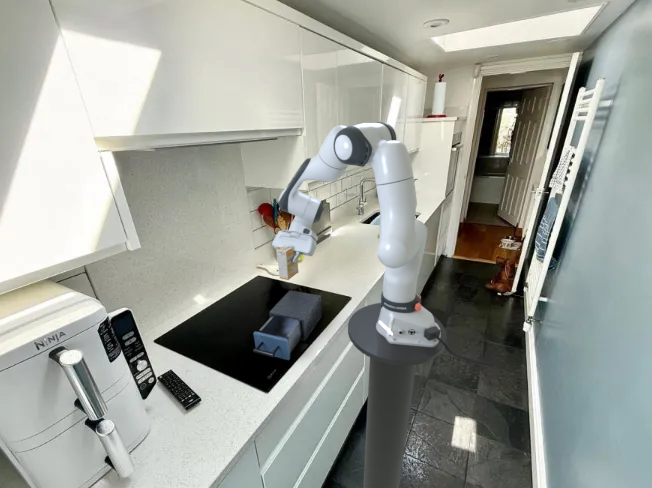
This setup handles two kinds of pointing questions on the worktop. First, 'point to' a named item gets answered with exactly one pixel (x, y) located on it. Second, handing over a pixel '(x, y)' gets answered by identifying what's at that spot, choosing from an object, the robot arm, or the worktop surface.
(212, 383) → the worktop surface
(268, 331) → the drawer
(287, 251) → the supplement box
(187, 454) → the worktop surface
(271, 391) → the worktop surface
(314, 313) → the drawer cabinet housing
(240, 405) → the worktop surface
